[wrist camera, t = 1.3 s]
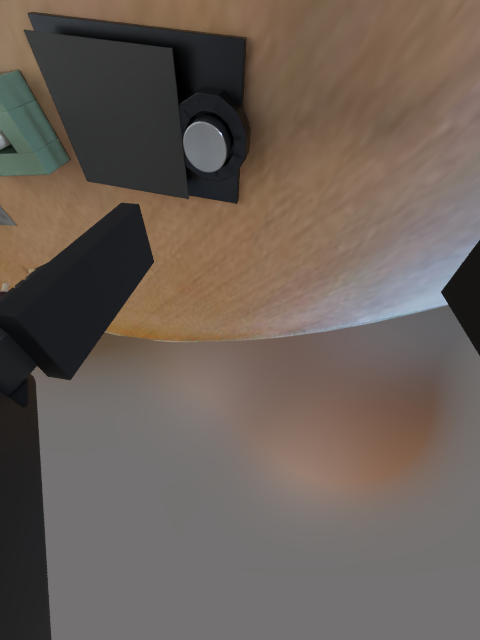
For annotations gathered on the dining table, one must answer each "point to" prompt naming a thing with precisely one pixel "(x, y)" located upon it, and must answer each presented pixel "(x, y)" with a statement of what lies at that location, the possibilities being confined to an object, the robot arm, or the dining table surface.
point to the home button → (207, 143)
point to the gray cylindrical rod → (3, 140)
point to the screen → (117, 109)
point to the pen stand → (26, 131)
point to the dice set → (5, 218)
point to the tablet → (186, 85)
